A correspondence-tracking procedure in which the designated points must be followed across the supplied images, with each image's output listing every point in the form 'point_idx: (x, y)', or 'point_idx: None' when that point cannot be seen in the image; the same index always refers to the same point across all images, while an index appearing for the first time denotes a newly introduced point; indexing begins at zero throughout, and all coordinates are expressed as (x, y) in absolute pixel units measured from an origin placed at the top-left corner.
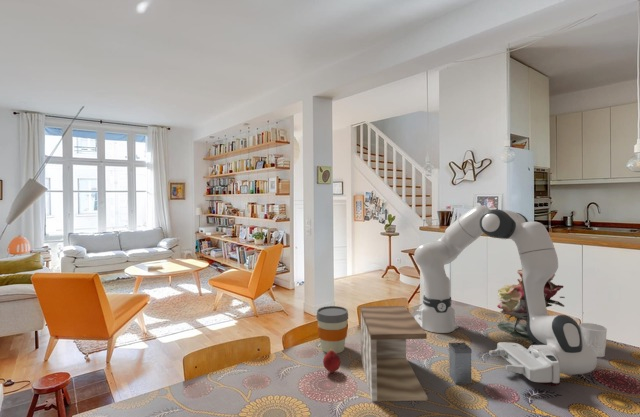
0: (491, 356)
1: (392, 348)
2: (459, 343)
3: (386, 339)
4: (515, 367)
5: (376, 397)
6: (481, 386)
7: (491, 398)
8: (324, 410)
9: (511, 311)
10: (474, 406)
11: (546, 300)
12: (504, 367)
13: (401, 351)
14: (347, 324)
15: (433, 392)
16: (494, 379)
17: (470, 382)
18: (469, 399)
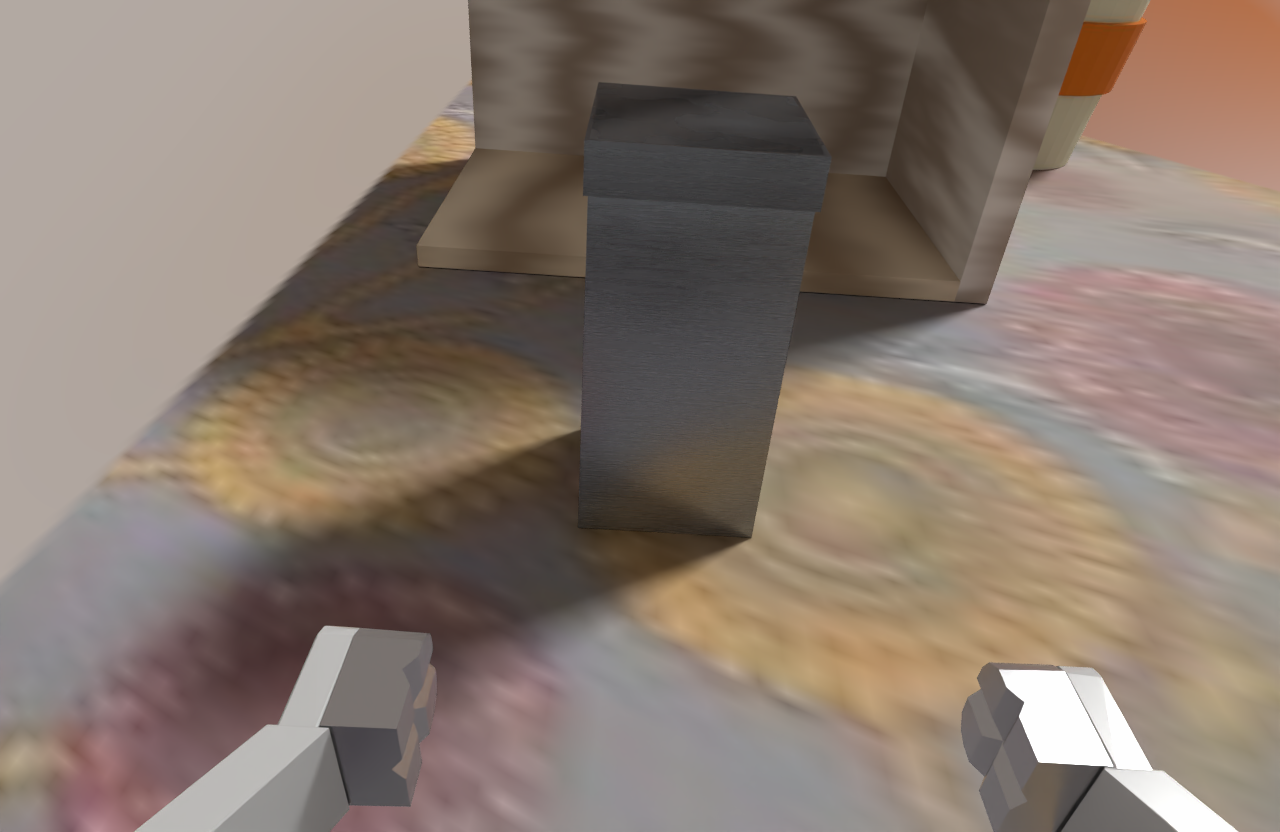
0: (964, 711)
1: (950, 167)
2: (787, 129)
3: (957, 84)
4: (220, 779)
5: (475, 144)
6: (512, 588)
7: (265, 570)
8: (461, 98)
9: None
10: (231, 417)
11: None
12: (431, 671)
13: (966, 216)
14: (1091, 23)
15: (498, 305)
16: (666, 821)
17: (579, 508)
18: (334, 425)
